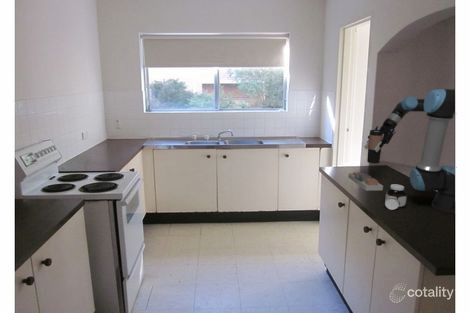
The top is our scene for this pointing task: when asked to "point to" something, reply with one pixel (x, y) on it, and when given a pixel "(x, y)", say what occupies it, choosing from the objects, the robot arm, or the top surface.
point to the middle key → (364, 176)
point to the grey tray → (364, 185)
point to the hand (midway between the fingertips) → (370, 149)
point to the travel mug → (374, 146)
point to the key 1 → (357, 174)
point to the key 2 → (371, 181)
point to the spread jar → (395, 197)
